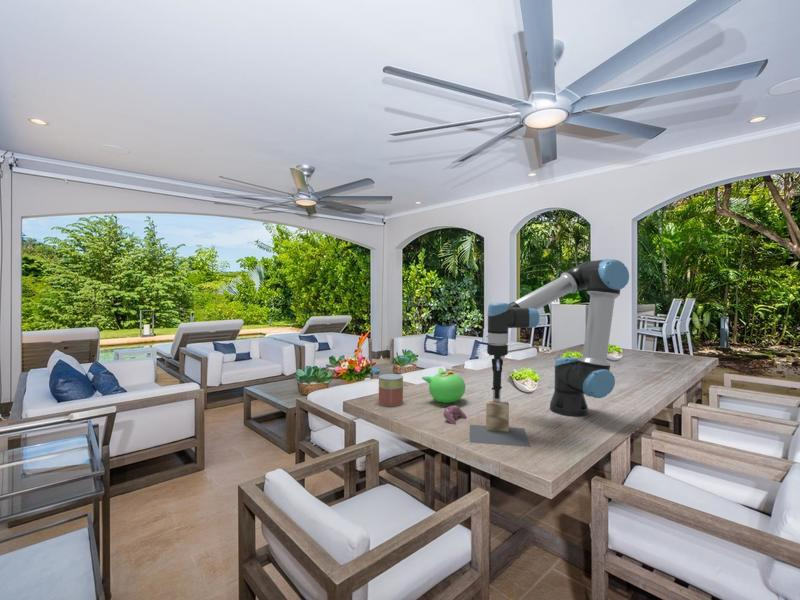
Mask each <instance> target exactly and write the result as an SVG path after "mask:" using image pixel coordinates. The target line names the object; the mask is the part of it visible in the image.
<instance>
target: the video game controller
mask: <svg viewBox="0 0 800 600" xmlns="http://www.w3.org/2000/svg"><path fill="white" fill-rule="evenodd" d="M442 413H443V418H444V419H445V420H446V421H447V422H448V423H449V424H451V425H456V423H457V422H456V420H457V419H458V418H460V419H467V415H466V413H464V411H463V410H462V409H461V408H460V407H459V406H458V405H449V406H447V407H446V408H445V409H444V410H443V412H442Z"/></svg>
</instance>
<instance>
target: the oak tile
mask: <svg viewBox="0 0 800 600" xmlns="http://www.w3.org/2000/svg"><path fill="white" fill-rule="evenodd" d="M485 410H486V411H485V426H486V430H493V431H508V432H509V426H510V423H509V422H510V416H509V415H510V404H509V402H508V401H500V402H497V401H493V400H486V402H485Z"/></svg>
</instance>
